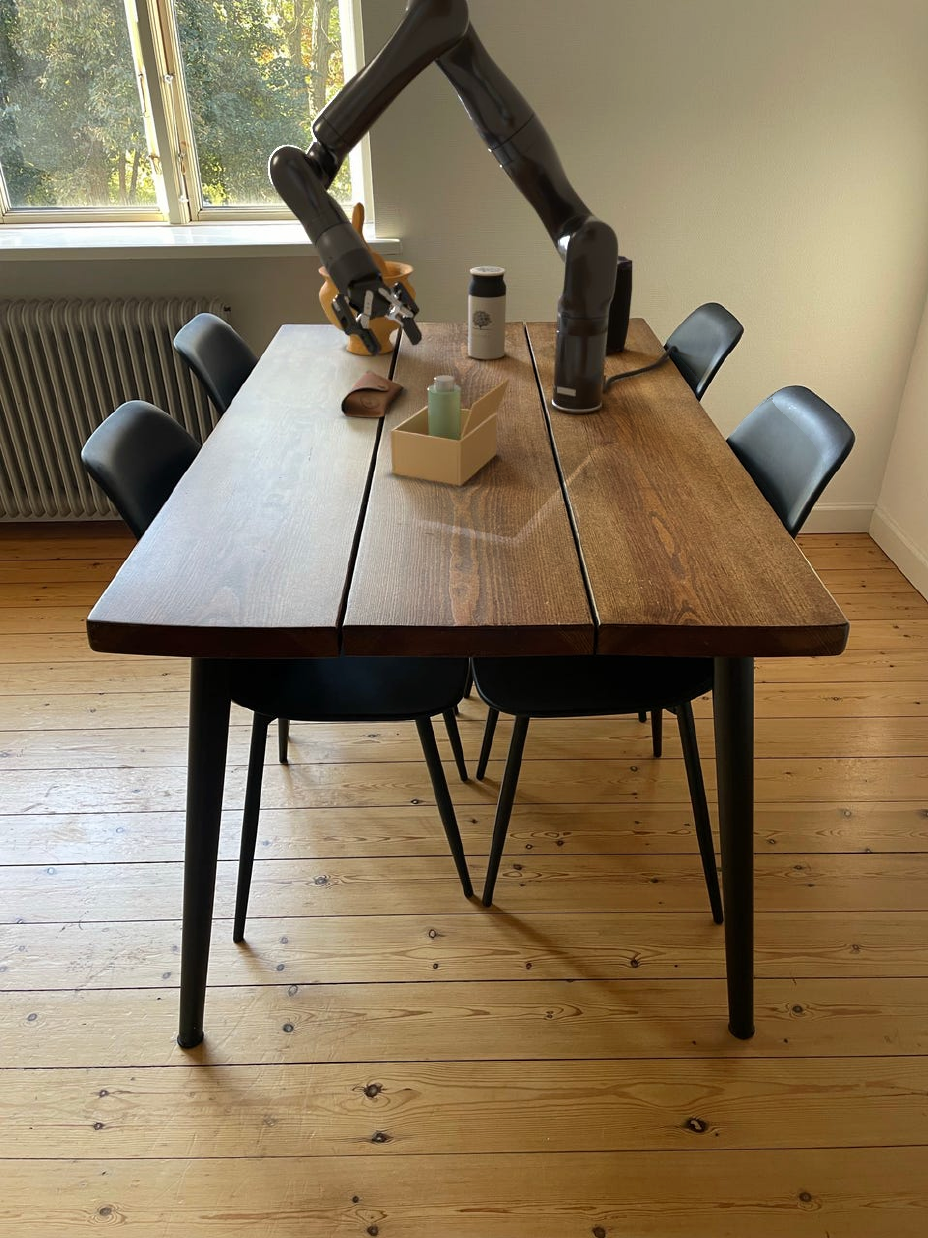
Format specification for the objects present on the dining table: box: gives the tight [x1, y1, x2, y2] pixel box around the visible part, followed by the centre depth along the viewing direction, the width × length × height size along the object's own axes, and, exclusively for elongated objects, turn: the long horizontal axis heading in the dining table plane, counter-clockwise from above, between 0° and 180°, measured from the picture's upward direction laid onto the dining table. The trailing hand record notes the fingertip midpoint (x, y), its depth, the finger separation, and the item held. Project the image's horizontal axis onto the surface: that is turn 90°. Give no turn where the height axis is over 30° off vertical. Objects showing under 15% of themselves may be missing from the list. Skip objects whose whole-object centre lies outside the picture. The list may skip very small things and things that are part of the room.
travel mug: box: [467, 266, 507, 361], centre depth 199 cm, size 8×8×18 cm
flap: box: [460, 377, 511, 438], centre depth 142 cm, size 14×6×1 cm
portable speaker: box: [605, 255, 634, 356], centre depth 202 cm, size 9×9×20 cm
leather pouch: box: [340, 369, 405, 419], centre depth 176 cm, size 18×7×7 cm, turn 172°
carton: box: [390, 405, 498, 487], centre depth 148 cm, size 14×12×8 cm
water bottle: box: [427, 374, 462, 441], centre depth 146 cm, size 5×5×14 cm
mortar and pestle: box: [318, 201, 417, 356], centre depth 200 cm, size 21×21×30 cm
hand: (398, 347), depth 147 cm, fingers open, 8 cm apart
